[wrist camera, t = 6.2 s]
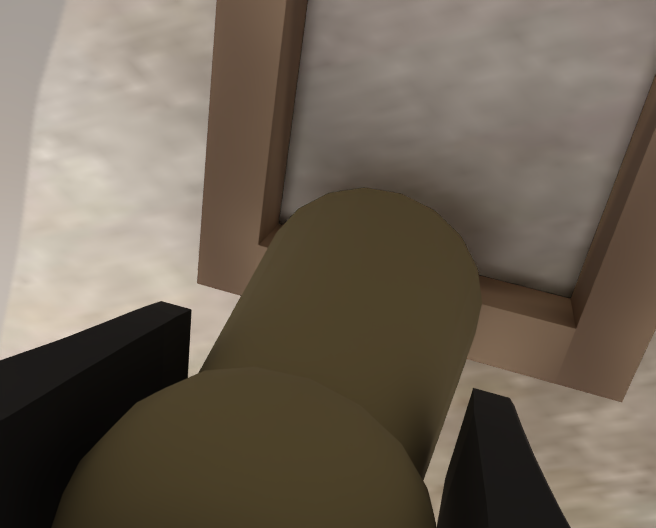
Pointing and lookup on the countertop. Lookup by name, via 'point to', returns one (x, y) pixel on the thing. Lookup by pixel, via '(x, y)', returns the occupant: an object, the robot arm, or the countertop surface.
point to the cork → (304, 386)
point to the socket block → (497, 296)
